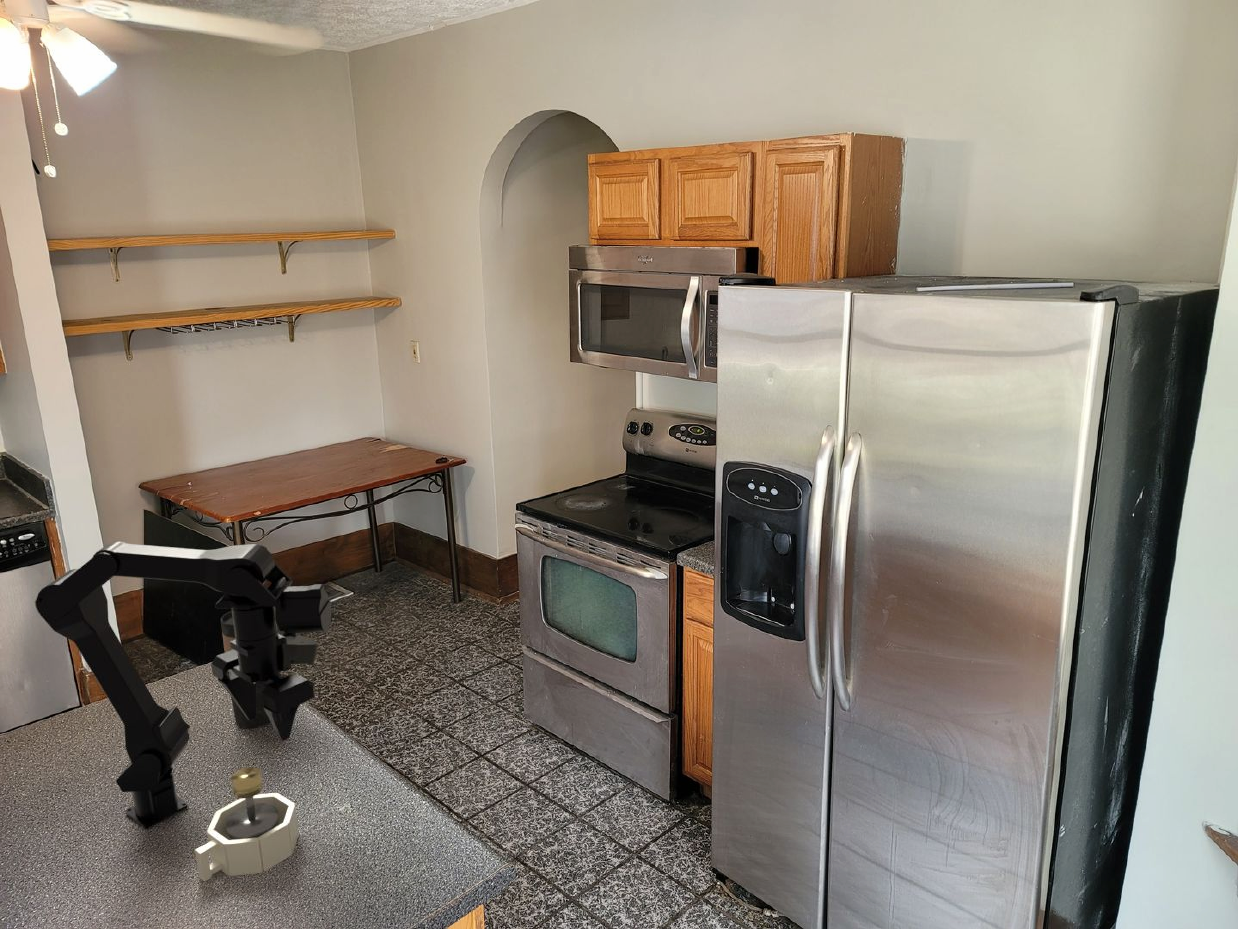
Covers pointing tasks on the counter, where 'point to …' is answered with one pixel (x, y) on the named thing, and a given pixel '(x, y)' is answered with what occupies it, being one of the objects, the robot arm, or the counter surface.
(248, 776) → the plunger
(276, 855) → the cream octagonal ring
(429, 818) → the counter surface
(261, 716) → the travel mug
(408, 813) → the counter surface
